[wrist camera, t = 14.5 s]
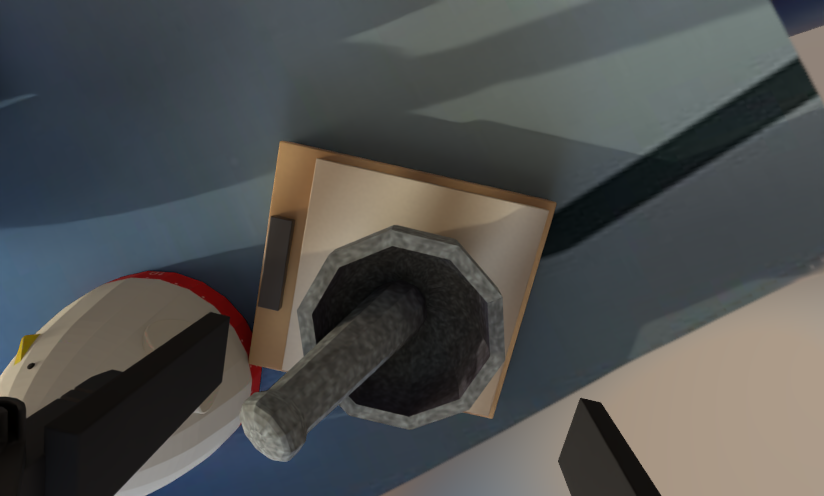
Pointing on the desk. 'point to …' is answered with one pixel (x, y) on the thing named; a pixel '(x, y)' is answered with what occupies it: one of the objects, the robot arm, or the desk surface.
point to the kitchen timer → (126, 345)
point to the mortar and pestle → (385, 340)
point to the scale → (376, 210)
